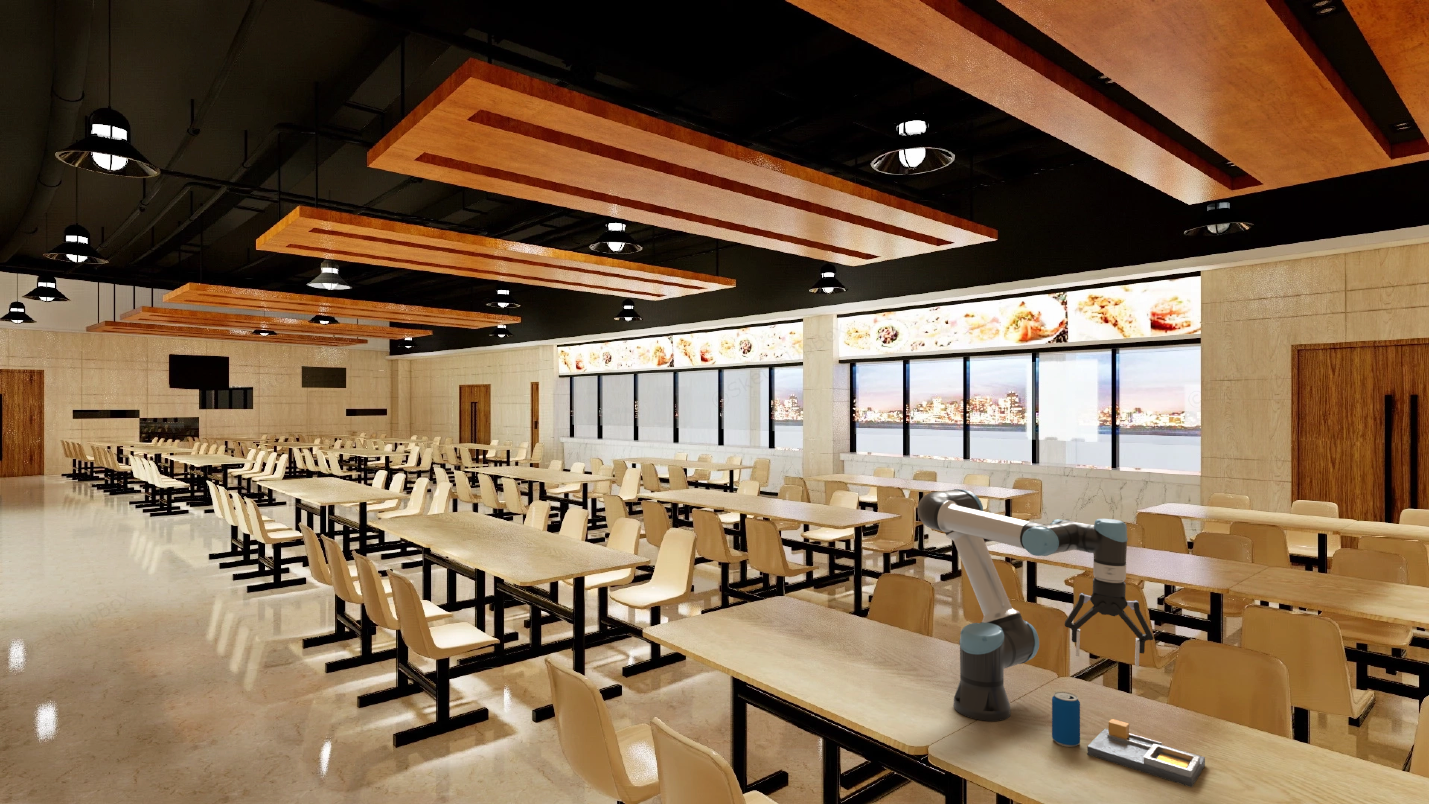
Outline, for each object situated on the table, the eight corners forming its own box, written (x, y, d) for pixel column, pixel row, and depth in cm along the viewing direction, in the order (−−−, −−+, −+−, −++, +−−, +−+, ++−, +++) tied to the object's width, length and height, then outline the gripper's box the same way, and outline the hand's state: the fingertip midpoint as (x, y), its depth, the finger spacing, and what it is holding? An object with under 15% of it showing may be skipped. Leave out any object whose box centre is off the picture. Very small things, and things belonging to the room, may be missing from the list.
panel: (1087, 754, 177) (1087, 740, 177) (1104, 736, 187) (1104, 722, 187) (1192, 787, 162) (1191, 772, 162) (1204, 765, 172) (1204, 751, 172)
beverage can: (1083, 749, 180) (1083, 701, 180) (1055, 747, 181) (1055, 699, 181) (1075, 738, 186) (1075, 691, 186) (1049, 735, 187) (1049, 689, 188)
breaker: (1108, 734, 183) (1108, 722, 183) (1111, 731, 185) (1111, 718, 185) (1126, 739, 180) (1126, 726, 180) (1129, 736, 182) (1129, 723, 182)
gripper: (1055, 575, 189) (1053, 655, 190) (1166, 589, 178) (1164, 674, 178) (1057, 569, 196) (1054, 646, 196) (1164, 582, 184) (1161, 664, 185)
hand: (1106, 659), depth 187 cm, fingers open, 13 cm apart
